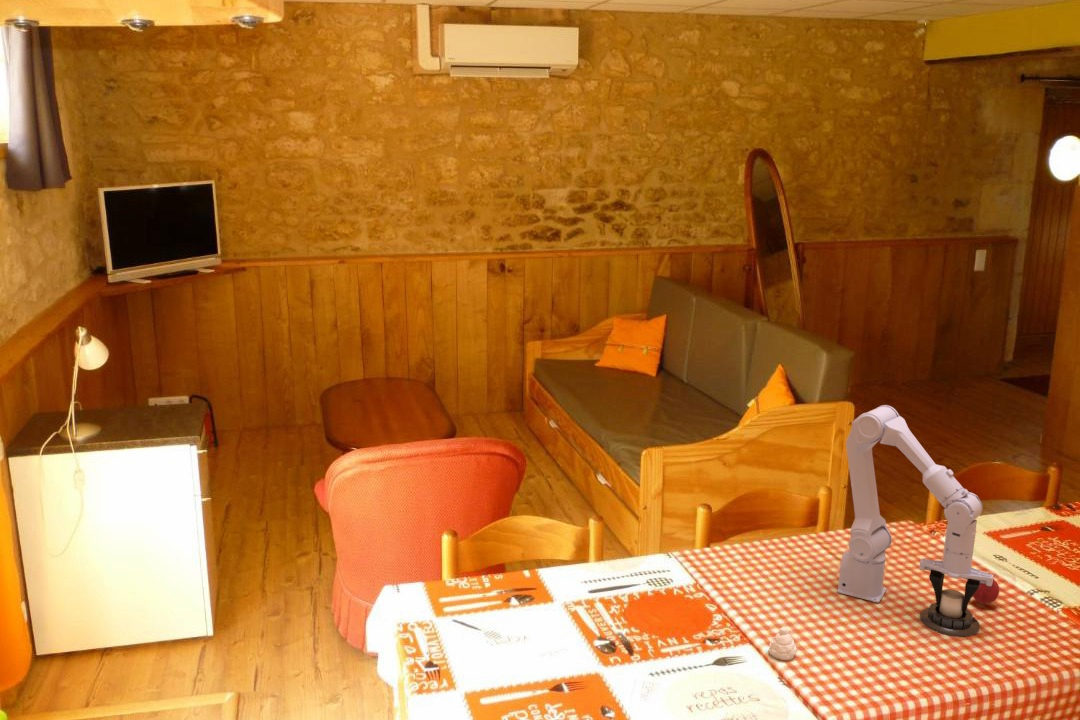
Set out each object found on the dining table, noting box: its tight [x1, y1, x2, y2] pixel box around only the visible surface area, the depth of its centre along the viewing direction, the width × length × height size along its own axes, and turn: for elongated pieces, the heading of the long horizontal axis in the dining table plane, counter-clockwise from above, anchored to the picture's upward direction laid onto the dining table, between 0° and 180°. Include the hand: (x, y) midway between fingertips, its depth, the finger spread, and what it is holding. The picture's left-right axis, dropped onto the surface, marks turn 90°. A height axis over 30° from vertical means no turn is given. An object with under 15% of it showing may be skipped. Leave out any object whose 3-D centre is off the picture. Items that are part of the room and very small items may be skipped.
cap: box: [939, 589, 965, 619], centre depth 208 cm, size 5×5×5 cm
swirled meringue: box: [768, 626, 798, 661], centre depth 195 cm, size 6×6×5 cm
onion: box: [972, 570, 1000, 606], centre depth 216 cm, size 6×6×8 cm
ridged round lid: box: [919, 602, 981, 638], centre depth 209 cm, size 12×12×3 cm
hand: (951, 606), depth 208 cm, fingers closed on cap, 5 cm apart
